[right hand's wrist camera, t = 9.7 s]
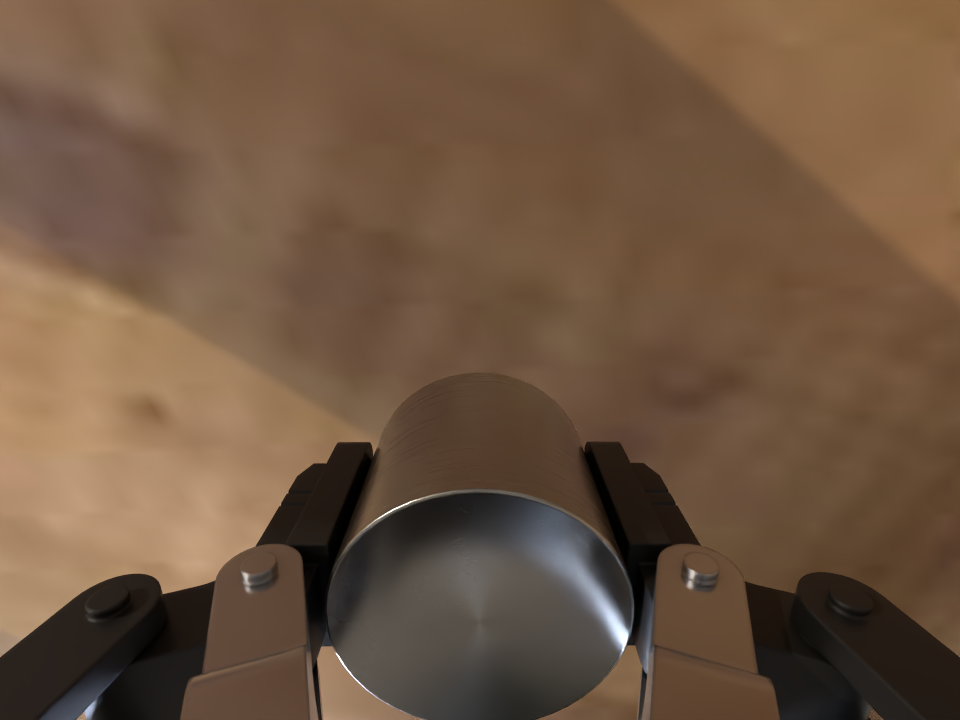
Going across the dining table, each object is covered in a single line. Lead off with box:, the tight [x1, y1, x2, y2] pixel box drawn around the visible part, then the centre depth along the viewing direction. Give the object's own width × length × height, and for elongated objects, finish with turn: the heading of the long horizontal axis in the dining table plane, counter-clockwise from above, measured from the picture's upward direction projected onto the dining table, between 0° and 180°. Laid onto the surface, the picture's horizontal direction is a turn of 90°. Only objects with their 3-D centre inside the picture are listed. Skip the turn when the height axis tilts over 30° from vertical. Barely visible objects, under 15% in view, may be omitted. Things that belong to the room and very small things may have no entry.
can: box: [324, 373, 635, 720], centre depth 10 cm, size 5×5×5 cm
